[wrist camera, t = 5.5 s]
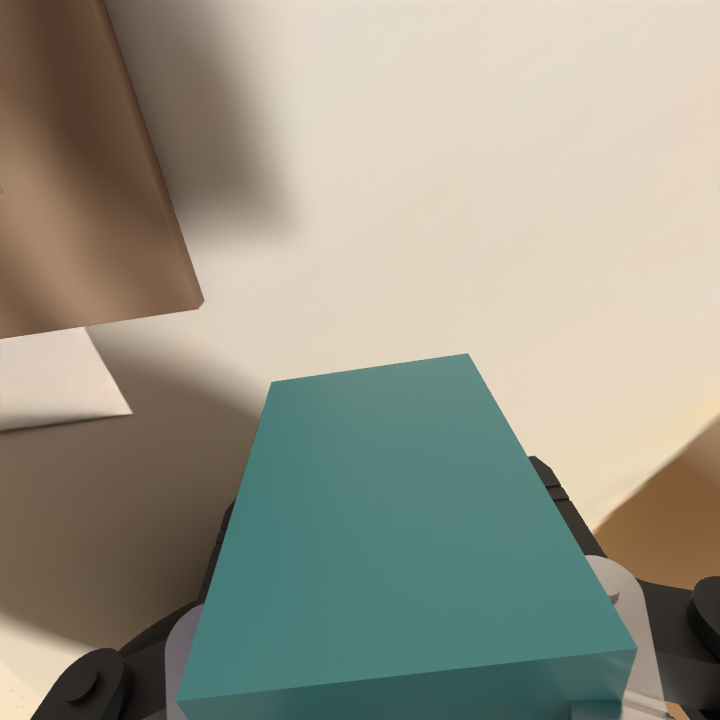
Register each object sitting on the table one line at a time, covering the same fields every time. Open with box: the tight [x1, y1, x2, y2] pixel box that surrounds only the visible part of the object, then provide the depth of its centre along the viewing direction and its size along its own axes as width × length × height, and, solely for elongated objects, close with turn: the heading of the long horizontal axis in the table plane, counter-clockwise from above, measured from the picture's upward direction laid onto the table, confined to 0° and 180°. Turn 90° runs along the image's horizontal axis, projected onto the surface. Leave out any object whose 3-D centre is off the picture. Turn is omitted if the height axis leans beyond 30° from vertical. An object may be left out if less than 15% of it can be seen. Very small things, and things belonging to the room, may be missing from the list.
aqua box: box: [175, 353, 638, 720], centre depth 10 cm, size 6×6×8 cm
